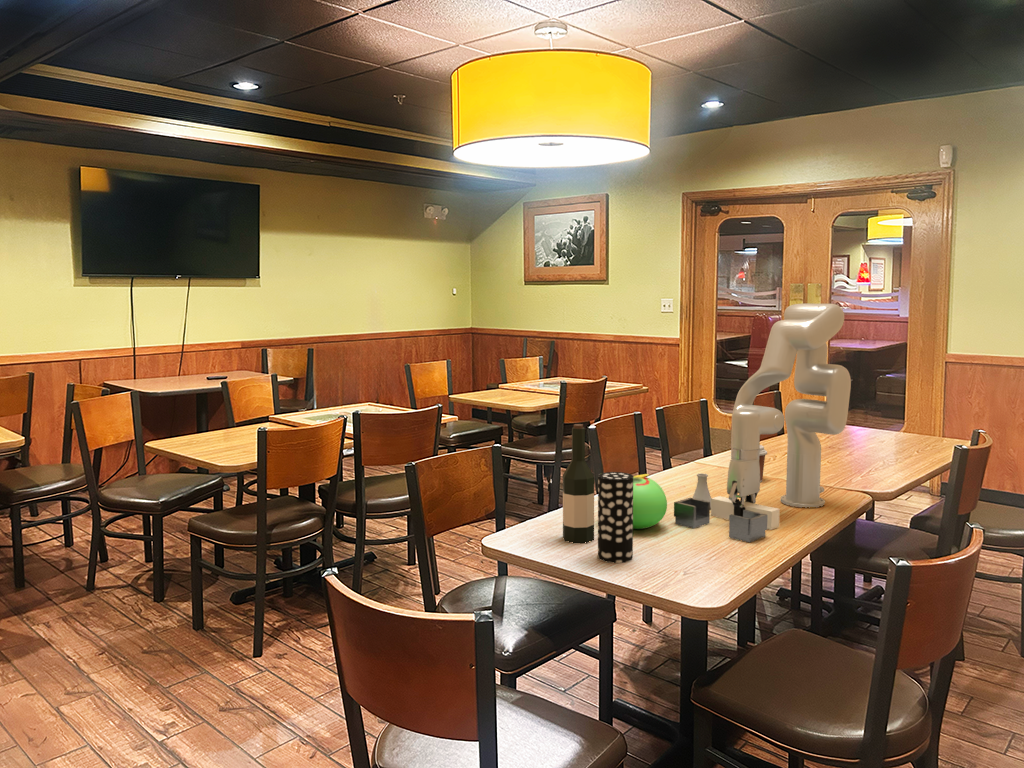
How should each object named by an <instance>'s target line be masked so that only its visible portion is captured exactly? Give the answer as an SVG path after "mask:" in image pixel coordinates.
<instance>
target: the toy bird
mask: <svg viewBox="0 0 1024 768" xmlns="http://www.w3.org/2000/svg"><path fill="white" fill-rule="evenodd" d="M648 476H650V474H649V473H644V474H638V475H637V474H636V475H633V530H634V529H635V530H636V529H637V530H641V529H648V528H650V527H654V526H655V525H657V524H659V523H660V521H662V519H664V517H665V515H666V513H667V509H668V500H667V499H668V498H667V496H666V494H665V492H664V490H663V488H662V487H661V485H660V484H659V483H657V481H655V480H653V479H652V478H650V477H648Z"/></svg>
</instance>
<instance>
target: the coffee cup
mask: <svg viewBox="0 0 1024 768" xmlns="http://www.w3.org/2000/svg"><path fill="white" fill-rule="evenodd" d="M766 455H768V451H767V450H766V449H765V446H764V445H762V444H760V455H759V465H760V483H762V482H763V477H764V468H765V467H764V466H765V461H766V460H765V459H766Z"/></svg>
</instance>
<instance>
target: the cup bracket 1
mask: <svg viewBox="0 0 1024 768" xmlns="http://www.w3.org/2000/svg"><path fill="white" fill-rule="evenodd" d="M710 516H711V509H710V502H708V501H704V500H699V499H695V498H693V497H687V498H685V499H680V500H677V501H675V502H673V517H674V519H675V523H674V524H675V525H678V526H682V527H686V528H689V529H690V528H691V529H696V528H699V527H702V526H705V525H708V524H710V522H711V521H710V520H711V519H710Z"/></svg>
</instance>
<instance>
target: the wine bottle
mask: <svg viewBox="0 0 1024 768" xmlns="http://www.w3.org/2000/svg"><path fill="white" fill-rule="evenodd" d="M563 538H564V539H563ZM562 539H563V541H564V542H566V541H569V542H568V543H570V542H573V543H572V544H574V543H580V544H588V543H587V542H589V541H591V542H593V541H592V540H595V475H594V474H593V473H592V471H591V469H590V467H589V464H587V462H586V428H585V427H584V424H583V423H582V424H581V423H575V424H573V427H572V428H571V461H570V462H569V464H568V466H567V467H566V469H565V470H564V472H563V473H562ZM585 542H586V543H585ZM589 543H590V542H589Z"/></svg>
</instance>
